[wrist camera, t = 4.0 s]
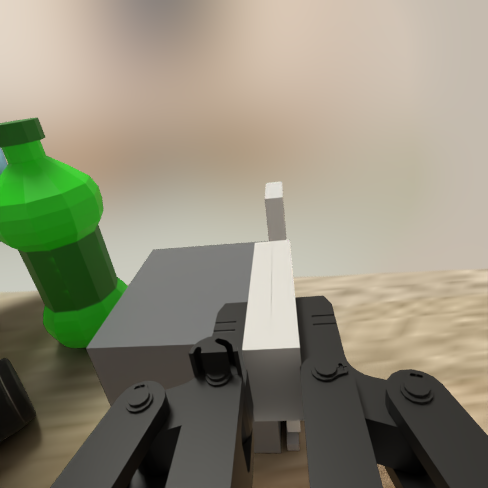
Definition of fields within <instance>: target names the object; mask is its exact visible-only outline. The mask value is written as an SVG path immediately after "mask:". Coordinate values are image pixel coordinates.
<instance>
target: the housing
mask: <svg viewBox="0 0 488 488" xmlns="http://www.w3.org/2000/svg"><path fill="white" fill-rule="evenodd" d="M264 242H269V241H264ZM255 243H258V242H251V243H236V244H223V245H209V246H197V247H183V248H169V249H156V250H153V251H152V252H151V254H150V255H149V257H148V258H147V260H146V261H145V262H144V264H143V265H142V267H141V268H140V270H139V271H138V273H137V274H136V276H135V277H134V279H133V280H132V281H131V283H130V284H129V286H128V287H127V289H126V290H125V292H124V293H123V295H122V296H121V298H120V299H119V301H118V302H117V304H116V305H115V306H114V308H113V309H112V311H111V312H110V314H109V315H108V317H107V318H106V320H105V321H104V323H103V324H102V326H101V327H100V329H99V330H98V331H97V333H96V334H95V336H94V337H93V339H92V340H91V342H90V343H89V345H88V346H87V348H86V350H87V352H88V354H89V357H90V359H91V361H92V364H93V366H94V368H95V371H96V373H97V375H98V378H99V380H100V382H101V385H102V387H103V389H104V392H105V394H106V396H107V399H108V401H109V403H110V406H112V405H113V404H114V402H115V401H116V400H117V398H118V397H119V396H120V395H121V394H122V393H123V392H124V391H125V390H126V389H127V388H129V387H131V386H132V385H134V384H136V383H140V382H143V381H155V382H157V383H160V384H161V385H162V387H163V388H164V389H165V390H167V389H170V388H173V387H177V386H180V385H182V384H185V383H187V382H189V381H191V380H192V379H194V373H193V369H192V365H191V362H190V358H189V354H188V353H189V352H190V350H191V348H192V347H193V346H194V345H195V344H196V343H197V342H198V341H200V340H202V339H205V338H207V337H211V336H212V334H213V330H214V326H215V322H216V317H217V313H218V311H219V310H220V309H221V308H222V307H223V306H224V304H225V303H238V302H248V297H249V288H250V280H251V271H252V263H253V255H254V246H255ZM252 428H253V434H254V453H281V421H255V420H254V414H253V424H252ZM286 428H287V421H286ZM287 449H288V451H300V449H299V433H298V432H288V430H287Z"/></svg>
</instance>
